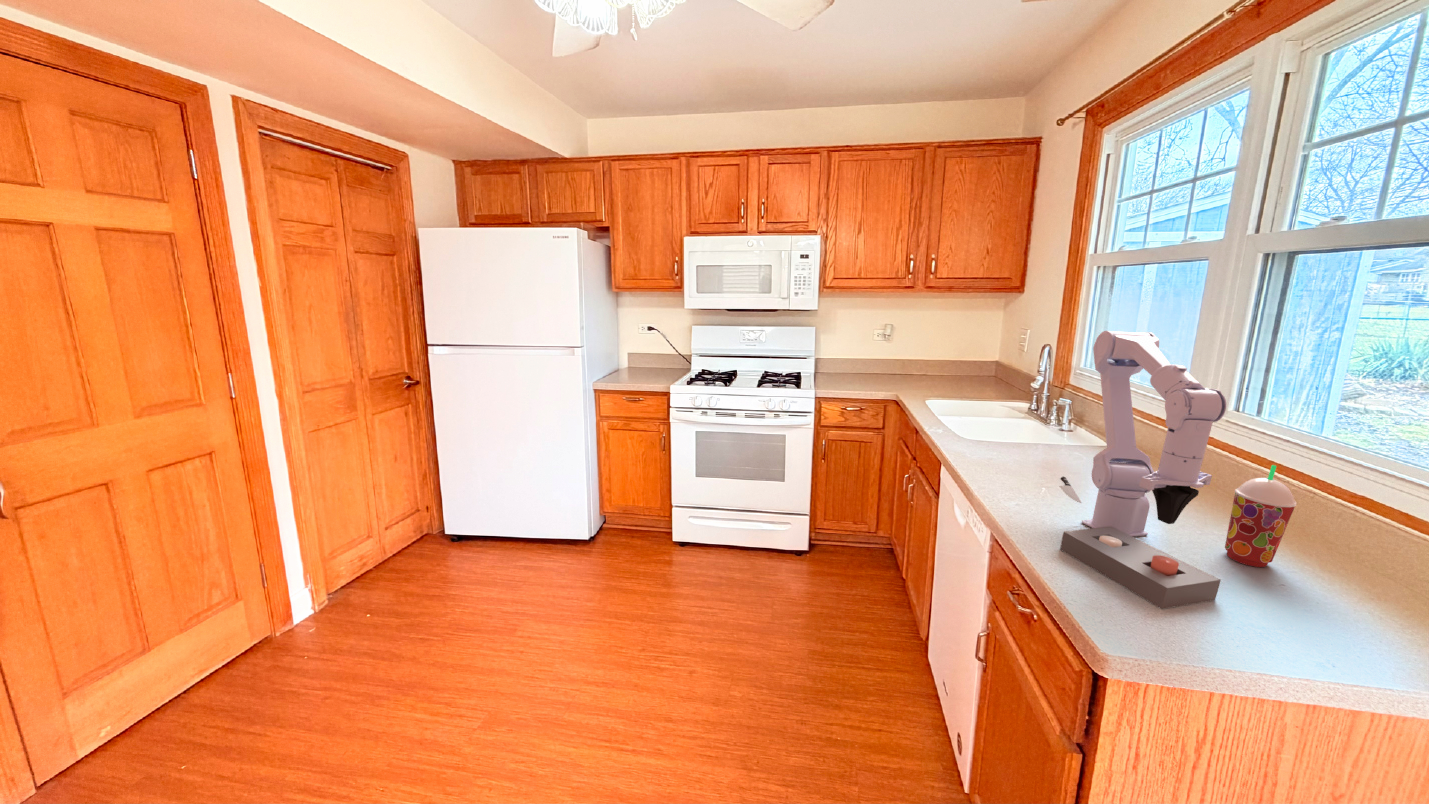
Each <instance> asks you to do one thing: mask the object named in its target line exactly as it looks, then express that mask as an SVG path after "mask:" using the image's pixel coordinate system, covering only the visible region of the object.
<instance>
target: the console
mask: <svg viewBox="0 0 1429 804" xmlns="http://www.w3.org/2000/svg"><path fill="white" fill-rule="evenodd" d="M1103 535H1105V536H1111V537H1114V538H1117V539H1119V540H1121V541H1122V546H1120V547H1111V546H1109V545H1107V544H1105V543H1103V542H1101V541H1099V538H1100V536H1103ZM1060 551H1062V552H1064V553H1066V554H1067V555H1069V556H1070V557H1072V558H1073V559H1076V560H1077V561H1079V562H1081V563H1082V564H1084V565H1086V566H1088V567H1089V568H1091V569H1092V570H1094V571H1096V572H1098V573H1100V575H1102V576H1105V577H1106V578H1108V579H1110V580H1111V581H1113V582H1115V583H1116V584H1118V585H1119V586H1122V587H1124V588H1125V589H1127V590H1128V591H1130V592H1132V593H1134V594H1135V595H1137V596H1138V597H1140V598H1142V599H1144V600H1146V601H1147V602H1150V603H1151V604H1152V605H1155V606H1156V607H1158V608H1160V609H1161V610H1165V609H1170V608H1176V607H1182V606H1188V605H1189V606H1190V605H1194V604H1201V603H1207V602H1212V601H1216V599H1217V595H1218V591H1219V589H1220V588H1219V587H1220V585H1221V580H1222V579H1220V578H1219V577H1216V576H1214V575H1212V574H1210V573H1208V572H1206V571H1204V570H1201V569H1199V568H1198V567H1196V566H1193V565H1191V564H1189V563H1188V562H1185V561H1183V560H1181V559H1179V558H1177V557H1175V556H1173V555H1170V554H1169V553H1167V552H1165V551H1162V550H1161V549H1159V548H1156V547H1154V546H1153V545H1150V544H1148V543H1146V542H1145V541H1142V540H1140V539H1138V538H1137V537H1132V536H1130V535H1128V534H1126V533H1124V532H1122V531H1120V530H1118V529H1116V528H1113V527H1111V526H1108V527H1100V528H1091V527H1090V528H1084V529H1075V530H1066V531H1063V534H1062V538H1061V544H1060ZM1155 555H1160V556H1165V557H1169V558H1171V559H1173V560H1175V561H1177V562H1178V563H1179V566H1178V570H1177V574H1176V575H1172V576H1166V575H1164V574H1162V573H1160V572H1158V571H1156V570H1154V569H1153V568H1151V567H1150V566H1151V562H1152V557H1153V556H1155Z"/></svg>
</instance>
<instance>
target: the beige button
mask: <svg viewBox="0 0 1429 804" xmlns="http://www.w3.org/2000/svg"><path fill="white" fill-rule="evenodd" d="M1099 541H1101V542H1103V543H1105V544H1107V545H1109V546H1111V547H1120V546H1122V541H1121V540H1119V539H1117V538H1114V537H1111V536H1105V535H1103V536H1100V538H1099Z"/></svg>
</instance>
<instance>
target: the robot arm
mask: <svg viewBox="0 0 1429 804" xmlns="http://www.w3.org/2000/svg"><path fill="white" fill-rule="evenodd" d="M1159 348H1160V339H1159V338H1158V337H1157V336H1156V334H1154V333H1153V332H1150V331H1149V332H1132V331H1131V332H1130V331H1129V332H1128V331H1111V330H1104V331H1102V332H1101V333H1099V335H1098V336H1097V337H1096V340H1095V342H1094V345H1093V348H1092V349H1093V361H1094V369H1095V371H1097V372H1098V373H1099V374H1100V386H1101V387H1100V388H1101V396H1102V397H1101V398H1102V406H1103V407H1102V408H1103V419H1104V421H1103V422H1104V430H1105V442H1106V443H1105V444H1106V447H1105V448H1104V449H1103V450H1101V451H1100V452H1098V453H1096V454H1095V455H1094V456H1093V462H1092V463H1093V465H1092V470H1091V480H1092V483H1093V485H1094V486H1095V487H1096V489H1098V492H1097V496H1096V502H1095V505H1094V509H1093V514H1092V515H1093V516H1092V519H1084V520H1081V523H1082V524H1083V525H1086V526H1087V527H1089V528H1090V529H1091V528H1100V527H1108V526H1111V527H1113V528H1116V529H1118V530H1120V531H1122V532H1124V533H1126V534H1128V535H1130V536H1132V537H1134V538H1136V537H1143V536H1148V533H1149V532H1147V531H1145V528H1146V524H1147V519H1148V517H1149V516H1148V515H1149V512H1150V506H1151V505H1150V502H1149V499H1148V497H1147V496H1146V495H1145V494H1147V493H1150V492H1152V494H1153V496H1154V500H1155V504H1156V514H1157V515H1156V516H1157V520H1158V521H1160V522H1163V523H1165V524H1167V525H1172V524H1173V525H1174V524H1175V523H1176V521H1177V520H1178V518H1179V517H1180V515H1181V514H1182V512H1183V511H1184V509H1185V508H1186V506H1187V505H1189V503H1190V502H1191V501H1193V500H1194V499H1195V498H1197V497H1198V496H1199V492H1200V490H1198V489H1199V488H1200V489H1201V488H1204V486H1210V485H1211V481H1212V477H1213V475H1212V474H1209V473H1207V472H1203V471H1201V469H1202V464H1203V461H1204V458H1205V454H1206V449H1207V446H1208V442H1209V438H1210V433H1211V431H1212V427H1213V423H1215V422H1218V421H1220V420H1221V419H1222V418H1223V417H1224V415H1225V413H1226V410H1227V400H1226V398H1225V396H1224V394H1223V392H1222V391H1221V390H1219V389H1215V388H1209V387H1204V386H1203V385H1202V383H1200V382H1199V381H1198V380H1197V379H1196V378H1195V377H1194V376H1192V374H1190V372H1189V371H1187V370H1188V368H1187V367H1186V366H1184V365H1181V364H1171V363H1170V362H1169V360H1168V359H1167V358H1166V356H1165V354H1163V352H1162V351H1161V350H1160V349H1159ZM1143 369H1144V370H1145V372H1147V373H1148V374H1149V375H1150V379H1149V380H1150V381H1149V382H1150V385H1151V386H1152V388H1154V390H1155V391H1156V392H1157V394H1159V395H1160V397H1161V398H1163V400H1164V401H1165V402H1164V410H1165V413H1166V414H1165V415H1166V417H1165V421H1164V423H1165V426H1166V427H1167V431H1166V435H1165V438H1164V443H1163V446H1162V447H1163V448H1162V451H1161V454H1160V459H1159V463H1158V469H1157V470H1155V471H1154V468H1153V467H1152V463H1151V457H1150V456H1149V455H1147V454H1146V453H1145V452H1143V451H1142V450H1141V449H1139V447H1137V441H1136V430H1135V420H1134V410H1133V402H1132V400H1133V399H1132V393H1131V392H1132V391H1131V382H1130V379H1131V377H1132V376H1133V375H1136V374H1139V373H1140V372H1141V371H1142V370H1143Z"/></svg>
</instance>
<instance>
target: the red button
mask: <svg viewBox="0 0 1429 804" xmlns="http://www.w3.org/2000/svg"><path fill="white" fill-rule="evenodd" d="M1178 566H1179V563H1178V562H1177V561H1175V560H1173V559H1171V558H1169V557H1165V556H1160V555H1155V556H1153V557H1152V562H1151V566H1150V567H1151V568H1153V569H1154V570H1156V571H1158V572H1160V573H1162V574H1164V575H1166V576H1172V575H1176V574H1177V570H1178Z"/></svg>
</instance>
